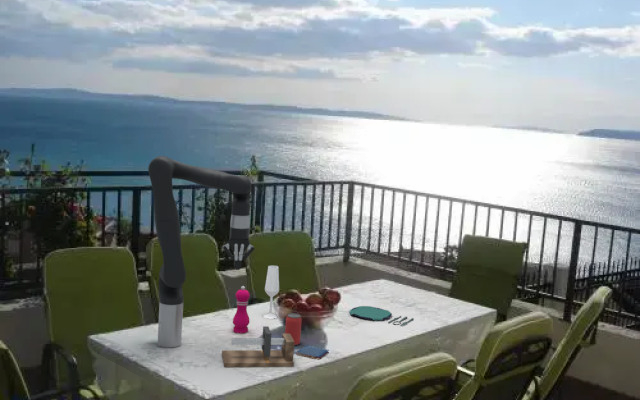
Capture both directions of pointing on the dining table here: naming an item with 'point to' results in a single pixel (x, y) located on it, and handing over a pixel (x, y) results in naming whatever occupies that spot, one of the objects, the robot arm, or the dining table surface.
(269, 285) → the champagne flute
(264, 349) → the dark grey block
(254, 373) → the dining table surface
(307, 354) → the woven mat
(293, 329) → the beer can
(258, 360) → the base board
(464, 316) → the dining table surface
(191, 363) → the dining table surface
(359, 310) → the cutlery set
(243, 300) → the pepper mill
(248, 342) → the light grey beam
